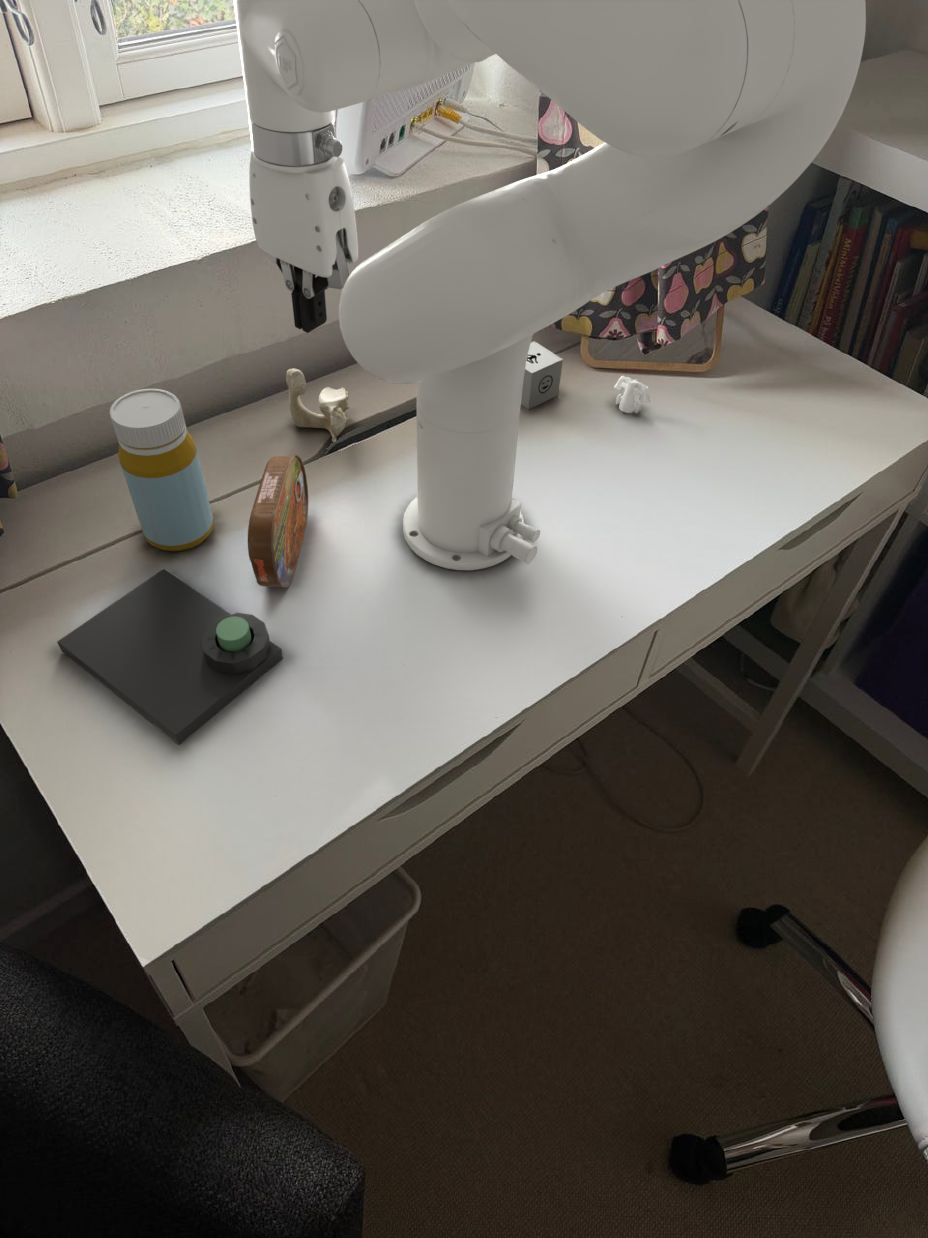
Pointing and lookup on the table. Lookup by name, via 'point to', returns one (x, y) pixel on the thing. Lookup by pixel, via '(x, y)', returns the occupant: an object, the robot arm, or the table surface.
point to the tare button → (233, 634)
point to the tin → (278, 521)
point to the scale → (169, 654)
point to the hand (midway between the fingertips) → (311, 324)
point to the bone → (329, 404)
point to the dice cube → (540, 376)
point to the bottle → (162, 469)
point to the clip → (631, 394)
